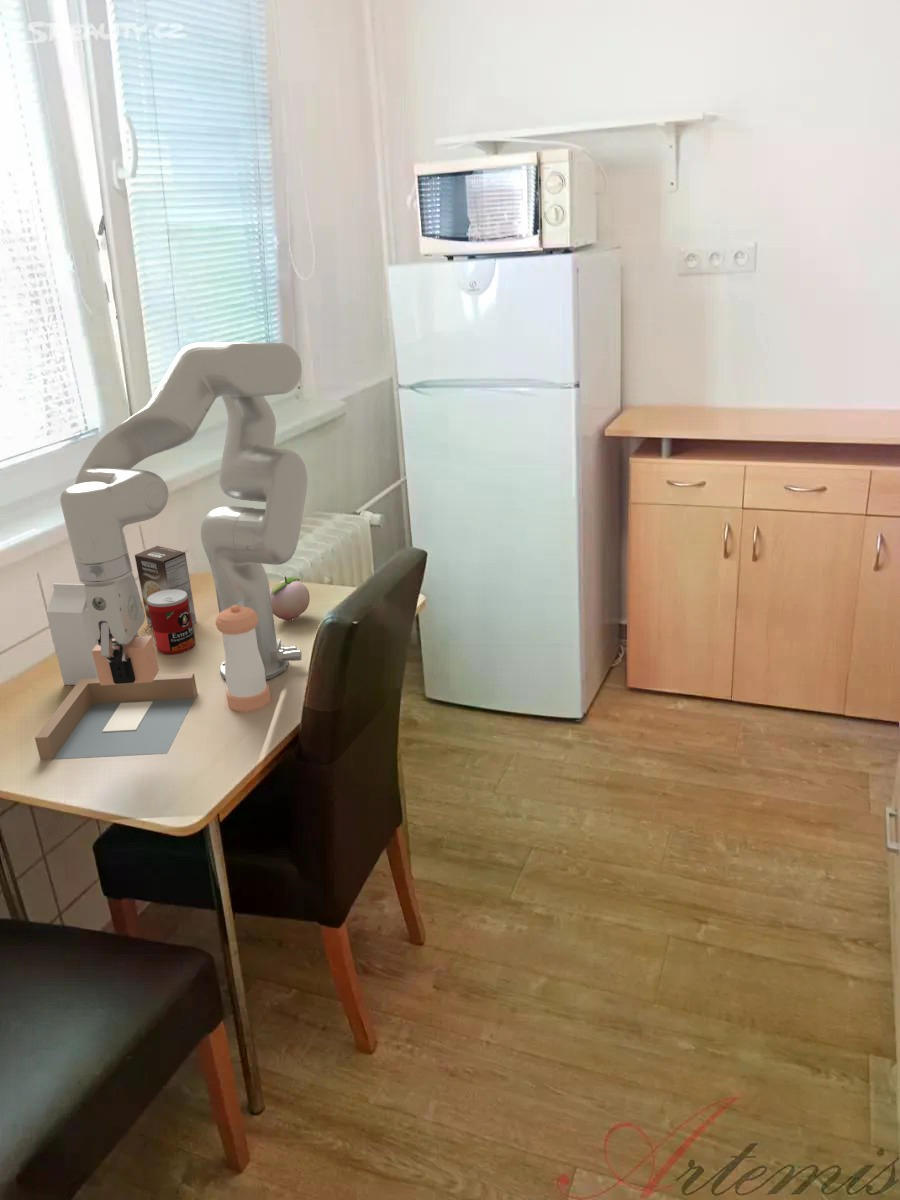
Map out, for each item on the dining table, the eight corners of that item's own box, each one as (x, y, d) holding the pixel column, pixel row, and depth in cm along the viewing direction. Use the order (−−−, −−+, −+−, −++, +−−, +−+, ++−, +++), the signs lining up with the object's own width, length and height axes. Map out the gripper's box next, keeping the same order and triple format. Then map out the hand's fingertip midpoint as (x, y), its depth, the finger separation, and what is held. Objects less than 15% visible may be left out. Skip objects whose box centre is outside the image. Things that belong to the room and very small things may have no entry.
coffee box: (146, 625, 196) (132, 554, 190) (169, 614, 201) (156, 545, 195) (175, 633, 191) (162, 560, 185) (198, 622, 196) (186, 551, 190)
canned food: (175, 658, 180) (166, 606, 176) (147, 650, 184) (137, 599, 180) (204, 643, 186) (195, 592, 182) (176, 635, 190) (167, 586, 186)
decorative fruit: (300, 631, 189) (294, 586, 185) (264, 628, 191) (258, 583, 187) (319, 613, 197) (314, 570, 193) (285, 610, 199) (279, 567, 196)
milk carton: (98, 687, 170) (76, 592, 163) (63, 685, 171) (41, 590, 164) (118, 669, 176) (98, 577, 169) (84, 668, 178) (64, 576, 171)
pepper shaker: (234, 697, 163) (218, 598, 156) (275, 696, 163) (261, 596, 156) (224, 718, 157) (207, 615, 149) (266, 716, 156) (251, 613, 149)
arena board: (198, 698, 164) (193, 672, 162) (168, 759, 145) (162, 731, 143) (86, 704, 164) (80, 678, 162) (42, 766, 145) (34, 737, 143)
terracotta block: (159, 669, 145) (151, 635, 143) (152, 682, 142) (144, 647, 139) (108, 673, 145) (100, 639, 143) (100, 685, 142) (91, 650, 139)
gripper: (111, 587, 128) (137, 700, 136) (145, 544, 143) (167, 649, 151) (57, 590, 128) (87, 704, 136) (97, 548, 144) (122, 652, 151)
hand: (129, 674), depth 143 cm, fingers closed on terracotta block, 4 cm apart
